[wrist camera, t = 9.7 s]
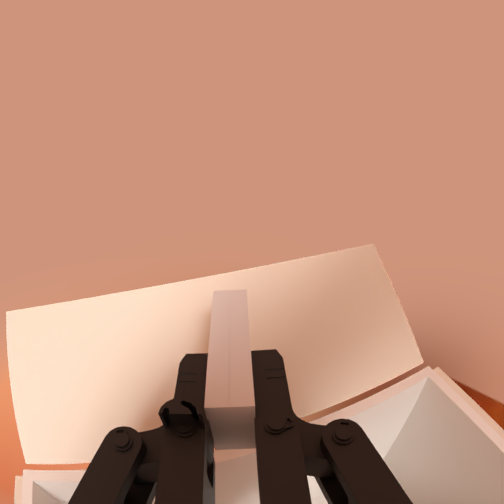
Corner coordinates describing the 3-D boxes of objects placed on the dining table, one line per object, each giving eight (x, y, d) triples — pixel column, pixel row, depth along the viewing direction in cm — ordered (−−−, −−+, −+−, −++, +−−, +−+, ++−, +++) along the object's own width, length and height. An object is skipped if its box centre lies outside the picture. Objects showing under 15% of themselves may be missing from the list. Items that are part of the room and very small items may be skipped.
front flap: (423, 362, 19) (418, 364, 20) (373, 243, 24) (370, 247, 24) (26, 463, 12) (30, 462, 12) (6, 311, 16) (10, 314, 16)
